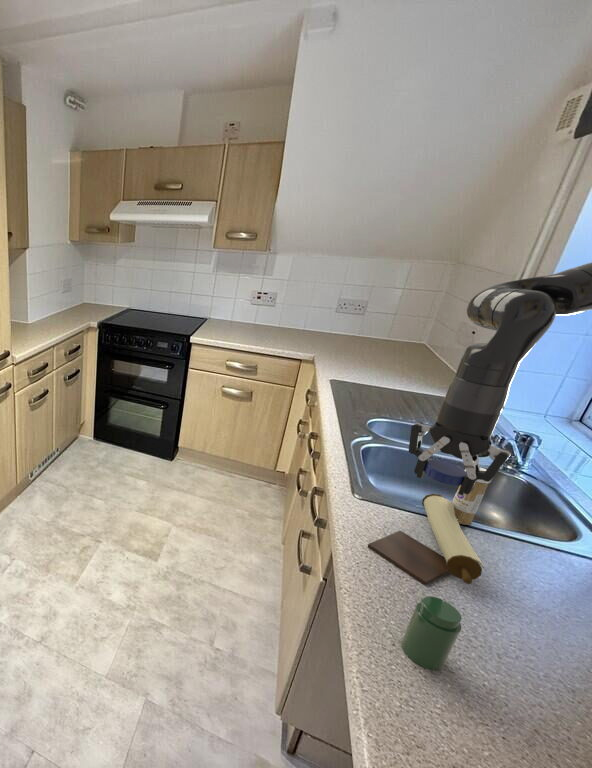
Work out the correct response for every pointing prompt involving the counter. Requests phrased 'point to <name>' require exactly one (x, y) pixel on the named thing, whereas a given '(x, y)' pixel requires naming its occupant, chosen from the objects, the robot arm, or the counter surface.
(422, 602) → the jar
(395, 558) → the coaster
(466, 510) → the sprinkles bottle
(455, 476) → the lid
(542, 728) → the counter surface
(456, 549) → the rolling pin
